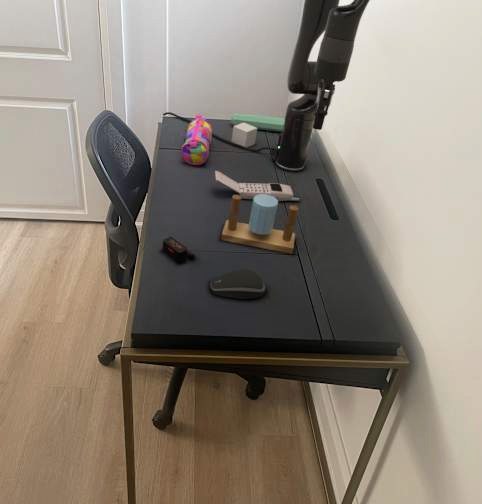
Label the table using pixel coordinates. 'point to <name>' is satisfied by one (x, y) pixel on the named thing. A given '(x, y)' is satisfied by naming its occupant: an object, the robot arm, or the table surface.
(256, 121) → the teal long bar
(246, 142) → the white cube
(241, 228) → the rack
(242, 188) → the mobile phone
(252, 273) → the computer mouse
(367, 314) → the table surface
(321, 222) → the table surface
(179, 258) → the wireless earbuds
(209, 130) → the pencil case
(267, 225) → the cup
